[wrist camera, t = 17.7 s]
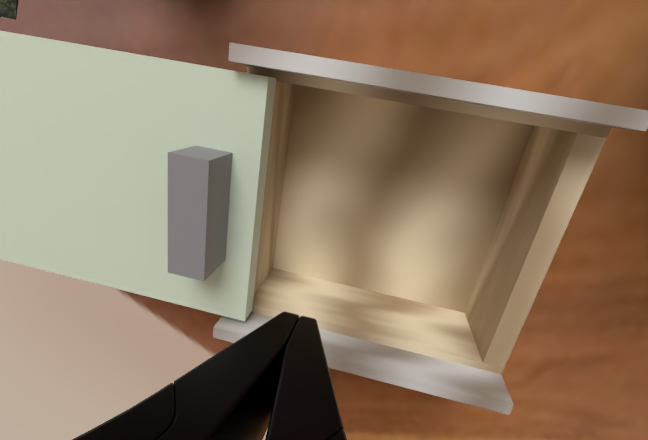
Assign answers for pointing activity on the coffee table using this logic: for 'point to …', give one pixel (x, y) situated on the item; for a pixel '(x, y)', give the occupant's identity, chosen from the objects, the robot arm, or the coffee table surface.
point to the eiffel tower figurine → (8, 8)
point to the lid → (133, 171)
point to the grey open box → (415, 215)
